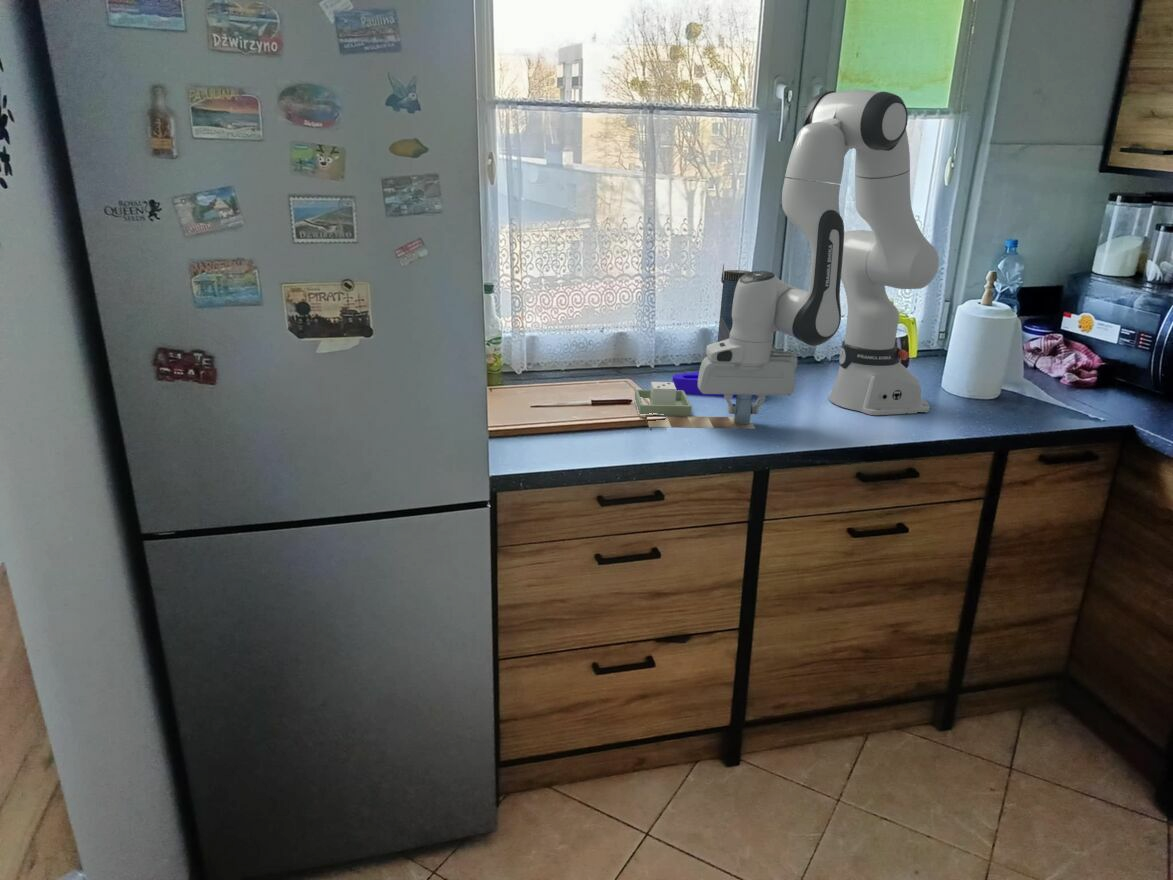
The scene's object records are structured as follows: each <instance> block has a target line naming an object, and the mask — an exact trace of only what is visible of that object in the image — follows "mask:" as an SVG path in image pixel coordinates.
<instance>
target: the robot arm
mask: <svg viewBox="0 0 1173 880" xmlns="http://www.w3.org/2000/svg"><path fill="white" fill-rule="evenodd" d="M908 117H909V113H908V109H907V107H906V104H905V102H904V99H902V97H900V96H899V95H897V94H895V93H892V92H888V91H875V90H865V89H853V90H842V91H834V90H830V91H825V92H822V93H819V94H817V95H815V96H813V97H812V99H811V100H810V101H809V102H808V105H807V106H806V109H805V111H804V114H803V117H802V128H800V129H799V131H798V133H797V135H796V137H795V140H794V143H793V146H792V149H791V152H790V155H789V159H788V162H787V165H786V172H785V175H784V181H783V186H782V192H781V205H782V206H781V207H782V210H783V212H784V214H785V216H786V217H787V219H788V220H789V221H790V222H791V224H793V225H794V226H795V227H796V228H797V229H799V231H801V233H802V234H803V235H804V237H805V238H806V239H807V241H808V243H809V245H810V249H811V263H810V274H809V275H810V276H809V285H808V286H809V288H808V291H807V290H804V289H802V288H799V287H795V286H793V285H791V284H788V283H786V282H785V281H783V280H781V279H779V278H778V277H777V275H776V274H775V273H774V272H771V271H768V270H756V271H755V270H754V271H750V272H749V273H746V274H744V275H743V276H741V277H740V279H739V280H738V283H737V285H736V289H735V293H734V298H733V306H732V320H733V325H732V329H731V331H730V336H729V339H726V340H723V341H720V342H718V341H717V342H713V343H710V344H707V345H706V349H705V353H706V357H704V358H703V360H702V361H701V363H700V366H699V370H698V372H699V376H698V388H699V390H700V391H701V392H702V393H703V394H724V397H723V398H724V399H725V401H726V403H727V405H728V407H727V413H728V415H735V414H736V410H737V406H736V403H732V401H731V400H732V399H733V398H734V397H733V394H736V395H752V396H753V395H754V396H756V397H757V399H756V401H755V402H754V403H752V409H751V415H759V412H760V411H759V410H760V407H761V406H762V405H763V403H764V402H765V400H766V396H791V395H792V394H793V393H794V391H795V385H796V384H795V382H796V381H795V380H796V379H795V375H796V374H795V371H796V369H797V367H798V357H797V355H796V354H794V353H792V352H791V351H787V350H785V351H779V350H772V346H773V338H774V336H773V334H774V333H775V332H781V333H782V334H785V335H787V336H790V337H794V338H795V339H797V340H799V341H801V342H803V343H804V344H806V345H808V346H811V347H815V346H820V345H823V344H824V343H826V342H827V341H829V340H831V339H832V338H833V337H834V335H835V334H837V332H838V329H839V328H840V325H841V322H842V308H841V294H840V293H841V282H842V285H843V288H844V292H845V296H846V301H847V316H846V325H845V326H846V327H845V335H844V340H843V341H841V342H842V343H841V347H840V351H839V360H838V361H839V364H838V365H839V367H838V372H837V375H836V378H835V381H834V385H833V388H832V390H831V392H830V394H829V396H828V399H829V401H830V402H831V403H833V404H835V405H836V406H838V407H841V408H845V409H848V410H852V411H858V412H861V413H864V414H867V415H870V416H884V415H885V416H886V415H888V416H889V415H904V414H905V415H906V413H907V414H918V413H917V412H925V413H928V412H929V411H930V405H929V403H928V401H927V400H925V399H924V398H923V397H922V388H921V383H920V381H919V380H918V378H917V377H916V376H915V375H914V374H913V373H912V372H911V371H910V370H908V368H907V367H905V366H904V364H902V363H901V362H900V360H902V361H907V360H908V359H909V357H910V353H909V351H906V349H901V348H899V347H898V346H896V338H897V332H898V326H899V321H900V313H899V310H898V308H897V306H895V304H894V303H893V302H892V301H891V300H890V299H889V297H888V296H889V295H888V294H887V291H886V287H890V288H893V289H894V288H895V289H899V290H919V289H924V288H925V287H927V286H928V285H929V284H931V283H932V282H933V280H934V278H935V277H936V275H937V273H938V271H939V270H938V269H939V266H940V258H939V253H938V251H937V248H935V246H933V245H932V243H930V242H929V241H928V240H927V238H926V237H925V236H924V234H923V232H922V231H921V229H920V227H919V225H918V223H917V221H916V218H915V215H914V212H913V208H912V202H911V201H912V200H911V154H910V143H909V139H908V138H909V137H908V132H907V125H908V119H909V118H908ZM852 149H854V150H855V160H854V161H855V163H854V186H855V187H854V188H855V189H854V191H855V210H856V211H857V213H858V215H859V216H860V217H861V218H862V219H863V220H864V221H865V222H866V223H867V224H868V226H869V227H870V229H871V230H872V231H871V230H865V229H860V230H859V229H856V230H848V231H847V230H846V231H845V225H844V220H843V218H842V216H841V212H840V211H841V210H840V191H841V190H840V189H841V185H842V180H843V173H844V165H845V156H846V155H847V154H848V152H849V151H850V150H852Z"/></svg>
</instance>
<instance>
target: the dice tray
mask: <svg viewBox="0 0 1173 880" xmlns="http://www.w3.org/2000/svg"><path fill="white" fill-rule="evenodd" d="M650 393H651V389H634V397H635V400H636V404H637V407H638V410H639V413H640V414H649V413H652V414H653V413H658V414H664V415H666V416H692V404H691V402H690V400H689V399H688V396H687V394H685V392H684V390H676V400H675V405H643V404H642V401H641V398H640V397H643V398H649V399H650Z"/></svg>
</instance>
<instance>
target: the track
mask: <svg viewBox="0 0 1173 880" xmlns="http://www.w3.org/2000/svg"><path fill="white" fill-rule="evenodd" d="M647 425H648V428H649V430H652V428H678V429H679V428H683V429H684V428H685V429H689V428H693V429H744V430H745V429H747V430H750V429H751V430H756V427H755V425H754V424H753V422H752V420H750V424H749V425H738V424H735V423H734V416H692V415H691V416H666V419H665V420H656V421H648V423H647Z"/></svg>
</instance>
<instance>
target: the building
mask: <svg viewBox="0 0 1173 880" xmlns="http://www.w3.org/2000/svg"><path fill="white" fill-rule="evenodd" d="M722 266H723V267H722V273H721V280H720V281H721V283H722V291H721V292H722V293H721V302H720V311H719V312H720V313H719V322H718V334H717V342H720V341H723V340H726V339H729V336H730V331H731V329H732V325H733V320H732V306H733V298H734V293H735V289H736V285H737V283H738V280H739V279H740V277H741V276H743V275H744V274H746V273H749V272H751V271H750V270H744V269H743V270H742V269H741V270H738V269H729V270H724V269H725V264H722Z"/></svg>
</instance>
